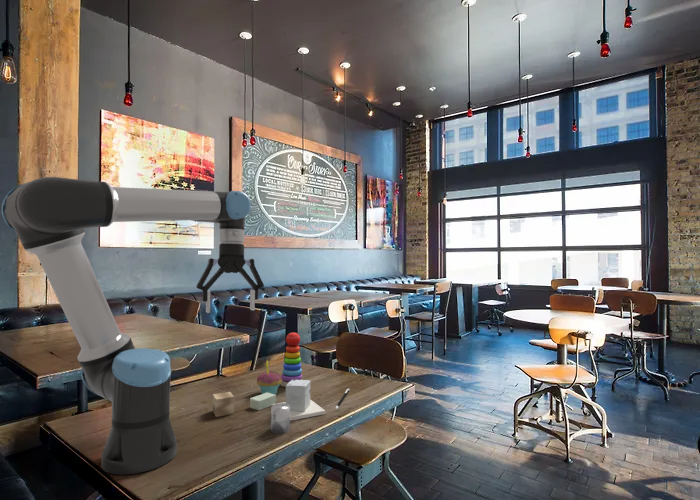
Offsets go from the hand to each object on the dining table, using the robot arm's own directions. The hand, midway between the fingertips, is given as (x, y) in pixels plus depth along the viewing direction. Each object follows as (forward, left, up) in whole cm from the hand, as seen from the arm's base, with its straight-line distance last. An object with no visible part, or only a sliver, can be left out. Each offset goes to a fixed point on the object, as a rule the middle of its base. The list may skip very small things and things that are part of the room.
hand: (230, 311), depth 125 cm
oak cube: (-3, -6, -29) cm, 30 cm away
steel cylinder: (+8, -25, -29) cm, 39 cm away
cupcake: (+14, +4, -29) cm, 32 cm away
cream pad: (+17, -15, -29) cm, 37 cm away
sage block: (+9, -6, -29) cm, 31 cm away
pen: (+34, -12, -29) cm, 46 cm away
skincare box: (+17, -15, -28) cm, 36 cm away
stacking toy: (+24, +9, -29) cm, 39 cm away
